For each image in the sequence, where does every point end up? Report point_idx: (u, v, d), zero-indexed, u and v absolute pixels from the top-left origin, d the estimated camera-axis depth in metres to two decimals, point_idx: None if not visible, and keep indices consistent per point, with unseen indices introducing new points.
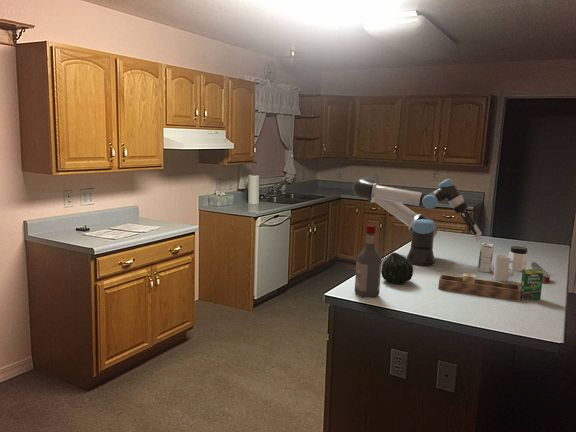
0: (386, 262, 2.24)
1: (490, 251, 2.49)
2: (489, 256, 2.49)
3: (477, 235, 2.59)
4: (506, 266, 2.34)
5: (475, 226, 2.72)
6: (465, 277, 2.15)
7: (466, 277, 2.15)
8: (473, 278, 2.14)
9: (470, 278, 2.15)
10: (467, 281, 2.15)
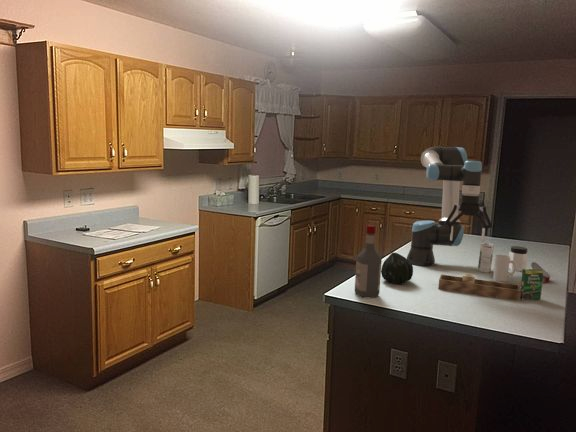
0: (386, 262, 2.24)
1: (490, 251, 2.49)
2: (489, 256, 2.49)
3: (450, 235, 2.21)
4: (506, 266, 2.34)
5: (482, 230, 2.17)
6: (465, 277, 2.15)
7: (466, 277, 2.15)
8: (473, 278, 2.14)
9: (470, 278, 2.15)
10: (467, 281, 2.15)
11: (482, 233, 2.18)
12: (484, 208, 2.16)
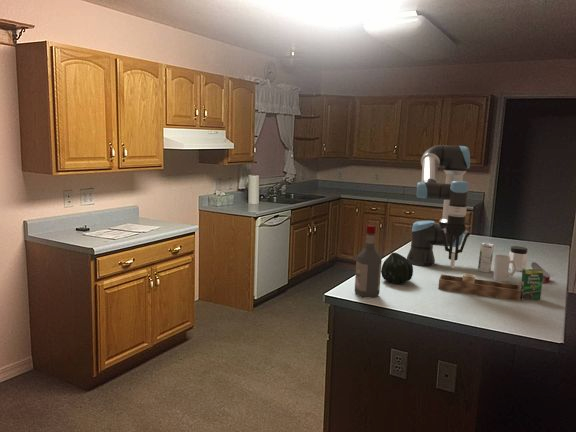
0: (386, 262, 2.24)
1: (490, 251, 2.49)
2: (489, 256, 2.49)
3: None
4: (506, 266, 2.34)
5: None
6: (465, 277, 2.15)
7: (466, 277, 2.15)
8: (473, 278, 2.14)
9: (470, 278, 2.15)
10: (467, 281, 2.15)
11: None
12: (468, 234, 2.14)
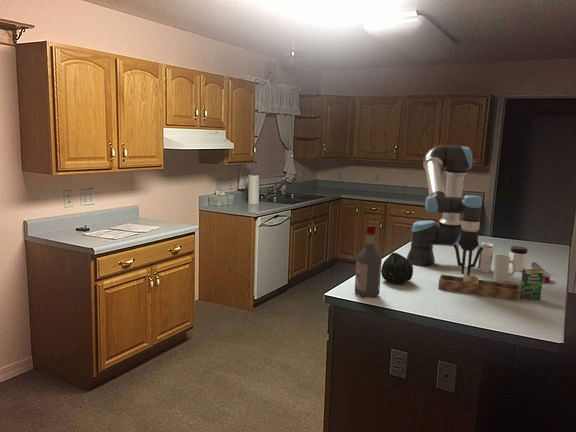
0: (386, 262, 2.24)
1: (490, 251, 2.49)
2: (489, 256, 2.49)
3: None
4: (506, 266, 2.34)
5: None
6: (469, 278, 2.15)
7: (470, 278, 2.15)
8: (477, 279, 2.13)
9: (474, 279, 2.14)
10: (471, 282, 2.15)
11: None
12: (481, 249, 2.12)
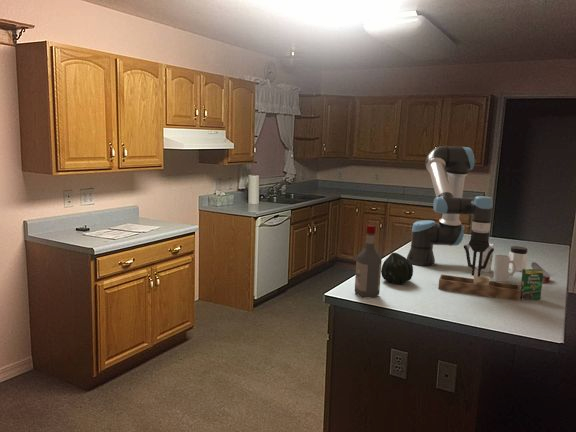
0: (386, 262, 2.24)
1: None
2: None
3: None
4: (506, 266, 2.34)
5: None
6: (479, 279, 2.13)
7: (480, 279, 2.13)
8: (488, 280, 2.12)
9: (485, 280, 2.12)
10: (481, 283, 2.13)
11: None
12: (492, 250, 2.11)
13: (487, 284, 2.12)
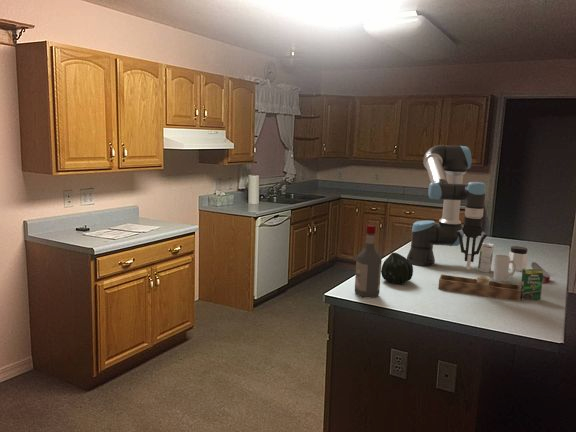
0: (386, 262, 2.24)
1: (490, 251, 2.49)
2: (489, 256, 2.49)
3: None
4: (506, 266, 2.34)
5: None
6: (479, 279, 2.13)
7: (480, 279, 2.13)
8: (488, 280, 2.12)
9: (485, 280, 2.12)
10: (481, 283, 2.13)
11: None
12: (485, 236, 2.11)
13: (487, 284, 2.12)
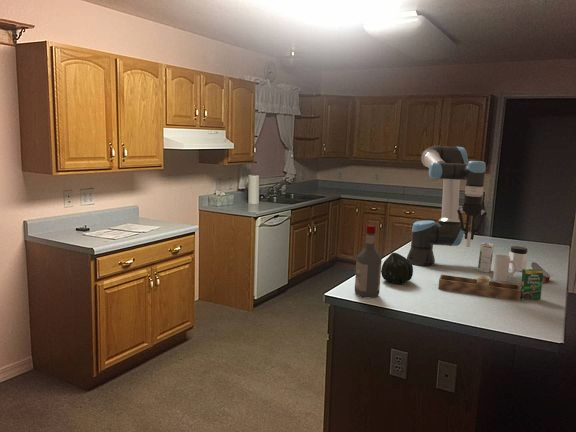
0: (386, 262, 2.24)
1: (490, 251, 2.49)
2: (489, 256, 2.49)
3: None
4: (506, 266, 2.34)
5: None
6: (479, 279, 2.13)
7: (480, 279, 2.13)
8: (488, 280, 2.12)
9: (485, 280, 2.12)
10: (481, 283, 2.13)
11: None
12: (484, 213, 2.15)
13: (487, 284, 2.12)
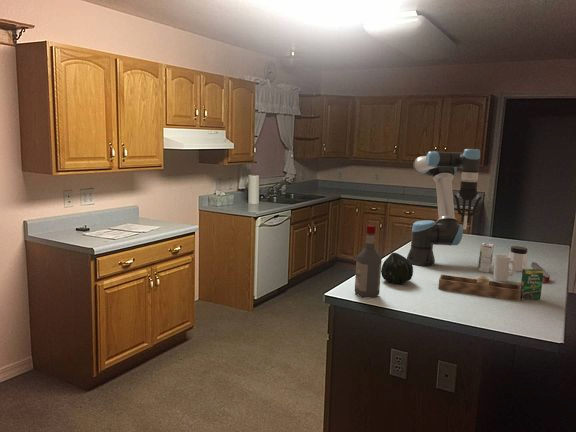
0: (386, 262, 2.24)
1: (490, 251, 2.49)
2: (489, 256, 2.49)
3: (463, 224, 2.36)
4: (506, 266, 2.34)
5: None
6: (479, 279, 2.13)
7: (480, 279, 2.13)
8: (488, 280, 2.12)
9: (485, 280, 2.12)
10: (481, 283, 2.13)
11: None
12: (479, 198, 2.31)
13: (487, 284, 2.12)
